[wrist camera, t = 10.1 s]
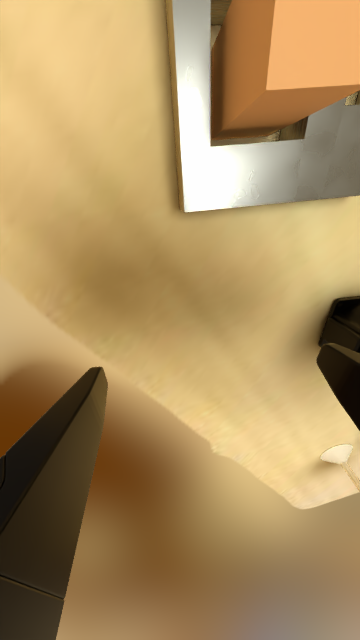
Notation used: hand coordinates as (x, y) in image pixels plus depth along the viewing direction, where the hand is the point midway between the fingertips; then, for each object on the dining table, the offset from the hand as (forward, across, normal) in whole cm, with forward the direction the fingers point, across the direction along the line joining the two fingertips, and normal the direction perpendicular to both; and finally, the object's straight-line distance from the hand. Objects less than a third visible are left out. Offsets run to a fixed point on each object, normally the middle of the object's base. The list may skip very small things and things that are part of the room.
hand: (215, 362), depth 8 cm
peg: (+12, -4, -11) cm, 17 cm away
